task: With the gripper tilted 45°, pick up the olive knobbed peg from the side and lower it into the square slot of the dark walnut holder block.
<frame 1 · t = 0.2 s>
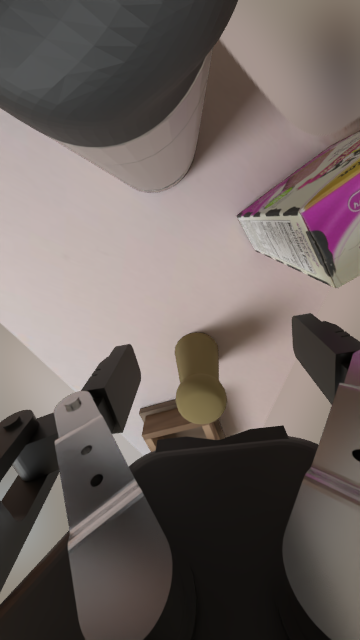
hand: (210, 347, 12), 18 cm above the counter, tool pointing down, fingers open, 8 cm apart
candy bar box: (288, 202, 25), on the counter
walnut socket: (184, 425, 38), on the counter
olive knobbed peg: (196, 351, 33), on the counter
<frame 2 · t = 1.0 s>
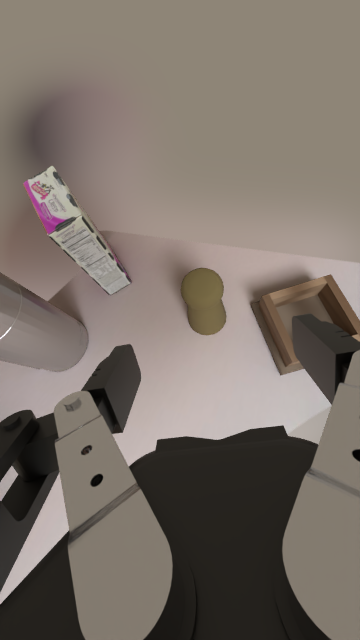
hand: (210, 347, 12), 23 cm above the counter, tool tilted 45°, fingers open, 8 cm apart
candy bar box: (109, 270, 44), on the counter
walnut socket: (301, 327, 34), on the counter
olive knobbed peg: (207, 317, 37), on the counter
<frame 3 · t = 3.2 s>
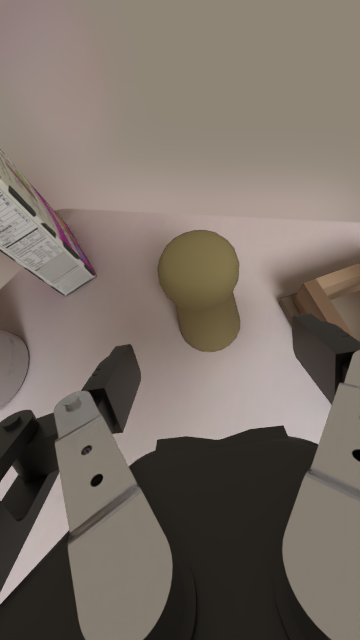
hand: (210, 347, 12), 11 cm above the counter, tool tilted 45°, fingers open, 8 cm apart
candy bar box: (67, 260, 31), on the counter
olive knobbed peg: (209, 323, 24), on the counter
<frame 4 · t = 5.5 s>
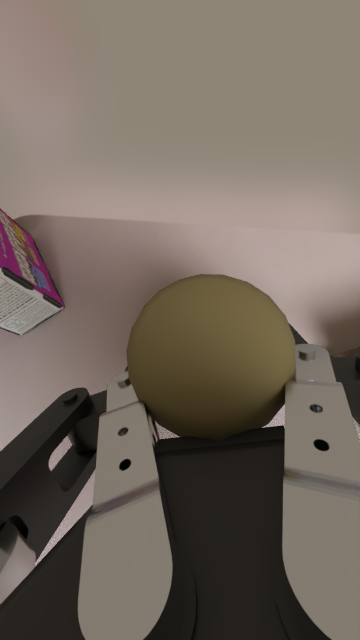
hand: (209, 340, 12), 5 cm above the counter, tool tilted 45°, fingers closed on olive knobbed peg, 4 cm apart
candy bar box: (28, 284, 23), on the counter
olive knobbed peg: (219, 387, 16), on the counter, touching gripper
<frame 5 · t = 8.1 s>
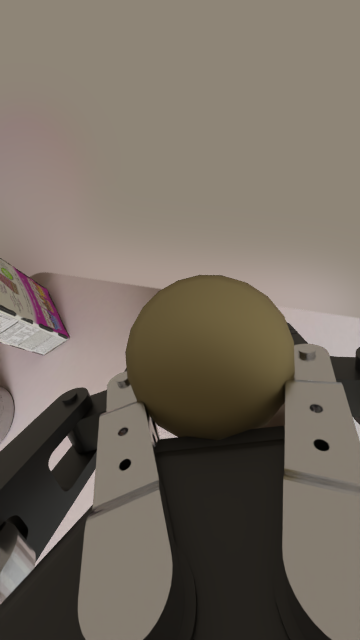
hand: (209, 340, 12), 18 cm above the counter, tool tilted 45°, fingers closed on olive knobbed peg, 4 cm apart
candy bar box: (46, 321, 38), on the counter
olive knobbed peg: (219, 387, 16), point 14 cm above the counter, touching gripper
when the fingers open (8 cm above the counter, at t = 10.8 s): olive knobbed peg drops 2 cm, resting on walnut socket.
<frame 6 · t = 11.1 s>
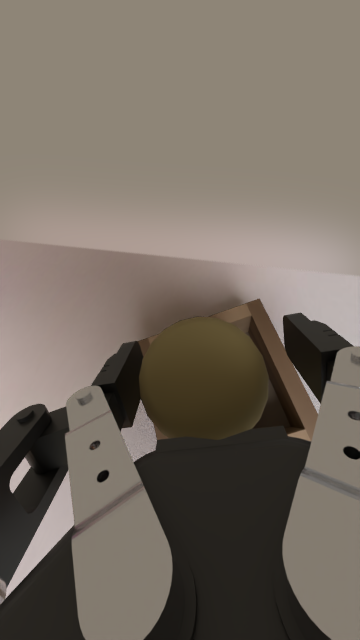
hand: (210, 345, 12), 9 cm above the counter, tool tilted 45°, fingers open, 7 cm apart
walnut socket: (221, 391, 19), on the counter
olive knobbed peg: (216, 396, 18), point 1 cm above the counter, touching walnut socket
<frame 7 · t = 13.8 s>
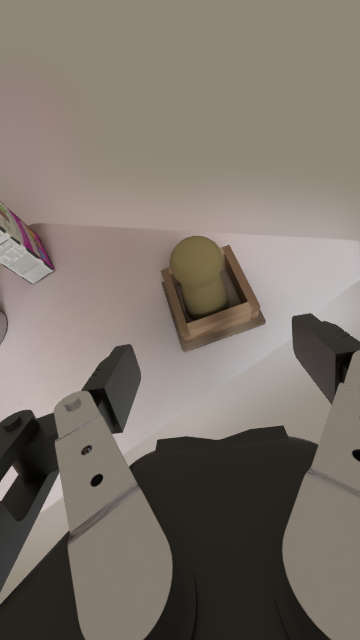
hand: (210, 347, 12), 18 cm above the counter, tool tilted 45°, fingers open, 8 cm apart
candy bar box: (36, 260, 44), on the counter
walnut socket: (210, 303, 33), on the counter
olive knobbed peg: (206, 303, 32), point 1 cm above the counter, touching walnut socket
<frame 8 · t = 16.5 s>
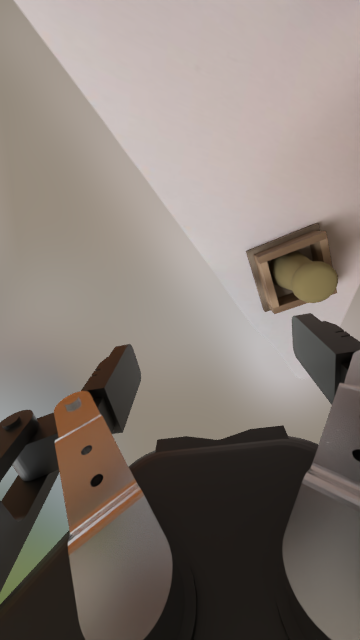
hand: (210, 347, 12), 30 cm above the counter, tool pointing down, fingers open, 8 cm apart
walnut socket: (287, 270, 39), on the counter
olive knobbed peg: (286, 268, 38), point 1 cm above the counter, touching walnut socket
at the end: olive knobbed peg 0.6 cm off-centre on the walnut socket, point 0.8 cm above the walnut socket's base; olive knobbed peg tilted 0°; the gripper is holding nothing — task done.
